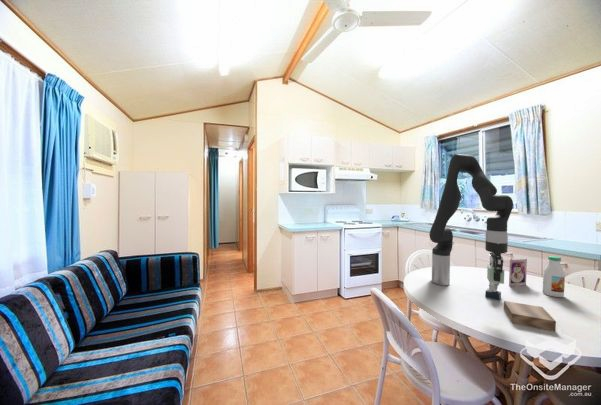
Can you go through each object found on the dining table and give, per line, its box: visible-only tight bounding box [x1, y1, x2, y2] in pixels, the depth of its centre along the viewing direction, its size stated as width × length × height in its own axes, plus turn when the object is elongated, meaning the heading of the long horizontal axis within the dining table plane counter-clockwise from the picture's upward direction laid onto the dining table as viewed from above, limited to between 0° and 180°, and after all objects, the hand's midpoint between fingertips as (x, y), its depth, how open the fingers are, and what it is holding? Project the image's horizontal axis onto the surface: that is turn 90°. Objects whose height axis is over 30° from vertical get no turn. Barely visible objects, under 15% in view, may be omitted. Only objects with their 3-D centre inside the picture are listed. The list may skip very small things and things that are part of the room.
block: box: [486, 264, 505, 285], centre depth 106 cm, size 5×5×6 cm
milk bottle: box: [542, 255, 566, 298], centre depth 125 cm, size 8×8×20 cm
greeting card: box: [508, 256, 528, 287], centre depth 141 cm, size 11×7×15 cm, turn 99°
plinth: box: [503, 300, 557, 332], centre depth 102 cm, size 13×13×4 cm
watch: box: [484, 281, 502, 301], centre depth 123 cm, size 6×8×11 cm
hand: (495, 278), depth 106 cm, fingers closed on block, 5 cm apart
